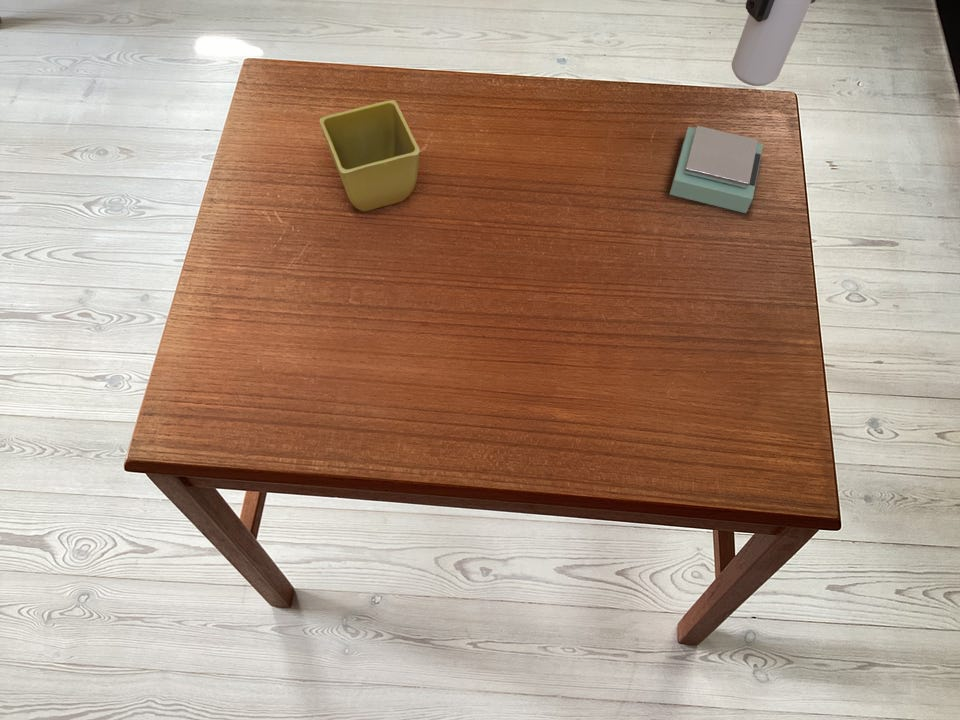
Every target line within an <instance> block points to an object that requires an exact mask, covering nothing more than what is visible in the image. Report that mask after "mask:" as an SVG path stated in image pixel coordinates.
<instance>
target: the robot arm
mask: <svg viewBox="0 0 960 720" xmlns="http://www.w3.org/2000/svg"><path fill="white" fill-rule="evenodd" d="M774 1H775V0H746V2H745V10H746V11H747V13H748V15H749V14H750V15H751V16H752V17H753V18H754V19H755V20H756V21H757V22H761V21H764V20H766V19H767V18H768V16H769V14H770V11H771V8H772V6H773V3H774ZM815 2H817V0H811V3H810V5H811V4H814V3H815Z"/></svg>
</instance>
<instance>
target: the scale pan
mask: <svg viewBox="0 0 960 720" xmlns="http://www.w3.org/2000/svg"><path fill="white" fill-rule="evenodd" d="M695 128H696V130H695V134H694V138H693V142H692V146H691V149H690V153H689V157H688V161H687V165H686V169H685V173H686V174H690V175H694V176H698V177H702V178H706V179H711V180H715V181H719V182H723V183H727V184H731V185H735V186H740V187H744V188H748V186H749V183H750V178H751V173H752V168H753V163H754V158H755V153H756V148H757V143H759V139H757V138H753V137H749V136H744V135H739V134H735V133H732V132H727V131H722V130H718V129H714V128H709V127H705V126H701V125H696V126H695Z"/></svg>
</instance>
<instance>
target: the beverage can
mask: <svg viewBox="0 0 960 720" xmlns="http://www.w3.org/2000/svg"><path fill="white" fill-rule="evenodd" d="M810 3H811V0H775V1H774V3H773V6H772V8H771V11H770V14H769V16H768V18H767V19H766V20H764V21H761V22H757V21H756V20H755V19H754V18H753V17H752V16H751V15H750V14H749V13H748V15H747V19H746V21H745V24H744V27H743V28H742V29H743V30H742V32H741V34H740V38H739V40H738V44H737V46H736V50H735V52H734V54H733V58H732V61H731V69H732V71H733V74H734V76H735V78H737V79H738V80H739V81H740V82H742V83H744V84H746V85H749V86H752V87H764V86H767V85H769V84H771V83H773V82H774V81H776V80H777V79H778V77H780V74H781V72H782V69H783V67H784V64H785V63H786V61H787V58H788V55H789V53H790V51H791V49H792V47H793V44H794V42H795V39H796V37H797V35H798V33H799V31H800V28H801V27H802V23H803V21H804V19H805V17H806V14H807V12H808V9H809V8H810V5H811V4H810Z"/></svg>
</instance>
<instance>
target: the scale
mask: <svg viewBox="0 0 960 720" xmlns="http://www.w3.org/2000/svg"><path fill="white" fill-rule="evenodd" d="M695 130H696V127H692V126H688V127H687V129H686V132H685V135H684V138H683V142H682V145H681V149H680V152H679V156H678V161H677V164H676V168H675V172H674V175H673V179H672V182H671V186H670V190H669V195H670V196H673V197H677V198H682V199H685V200H690V201H694V202H697V203H698V202H699V203H702V204H706V205H711V206H714V207H719V208H722V209H727V210H731V211H733V212H734V211H735V212H739V213H743V214H747V212H748V210H749V208H750V206H751V204H752V201H753V200H754V194H755V189H756V184H757V179H758V173H759V170H760V164H761V159H762V153H763V148H764V144H763V143H760V142H758V143H757V148H756V153H755V158H754V163H753V168H752V173H751V178H750V183H749V186H748V188H744V187H740V186H735V185H731V184H727V183H723V182H719V181H715V180H711V179H706V178H702V177H698V176H694V175H690V174H686V173H685V169H686V165H687V161H688V157H689V153H690V149H691V146H692V142H693V138H694V134H695Z"/></svg>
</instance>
